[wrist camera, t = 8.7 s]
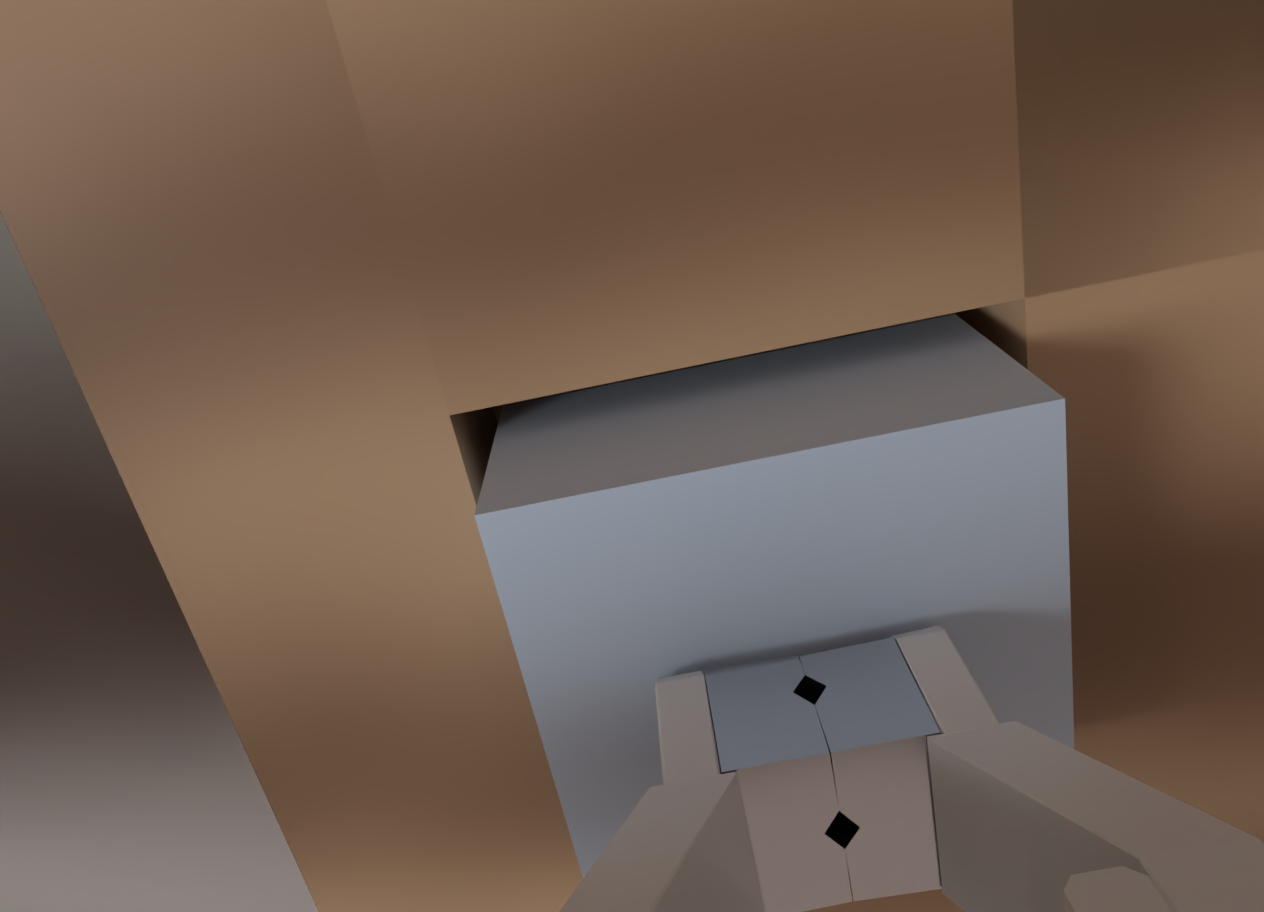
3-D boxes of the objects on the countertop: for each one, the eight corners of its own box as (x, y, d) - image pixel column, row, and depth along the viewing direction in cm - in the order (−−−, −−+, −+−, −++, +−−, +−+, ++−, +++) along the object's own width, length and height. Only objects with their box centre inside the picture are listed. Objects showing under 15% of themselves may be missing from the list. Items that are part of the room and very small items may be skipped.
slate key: (502, 405, 12) (473, 515, 9) (955, 314, 12) (1065, 398, 9) (599, 759, 14) (599, 932, 11) (981, 688, 14) (1076, 848, 11)
